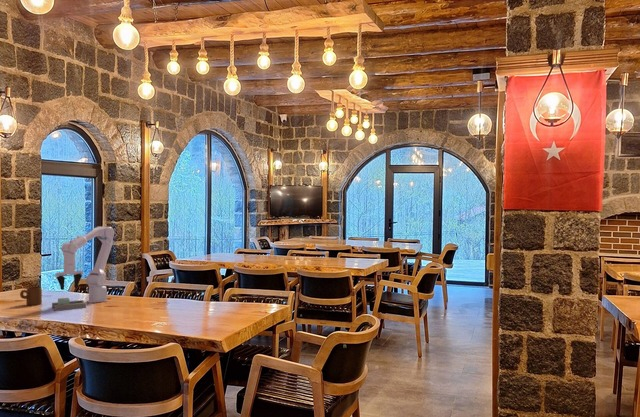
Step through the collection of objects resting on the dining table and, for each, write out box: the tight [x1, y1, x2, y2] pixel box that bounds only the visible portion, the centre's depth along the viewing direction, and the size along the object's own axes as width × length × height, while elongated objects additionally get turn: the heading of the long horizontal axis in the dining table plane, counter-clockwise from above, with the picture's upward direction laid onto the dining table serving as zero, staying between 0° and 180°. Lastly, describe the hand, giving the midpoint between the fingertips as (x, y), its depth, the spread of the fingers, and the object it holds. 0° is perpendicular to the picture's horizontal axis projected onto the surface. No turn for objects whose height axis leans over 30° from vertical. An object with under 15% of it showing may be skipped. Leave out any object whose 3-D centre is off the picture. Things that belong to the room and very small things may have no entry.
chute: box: [51, 299, 87, 311], centre depth 294 cm, size 16×10×2 cm, turn 125°
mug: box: [19, 286, 43, 306], centre depth 299 cm, size 12×8×9 cm, turn 153°
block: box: [57, 297, 70, 305], centre depth 293 cm, size 5×5×5 cm
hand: (69, 288), depth 297 cm, fingers open, 7 cm apart
